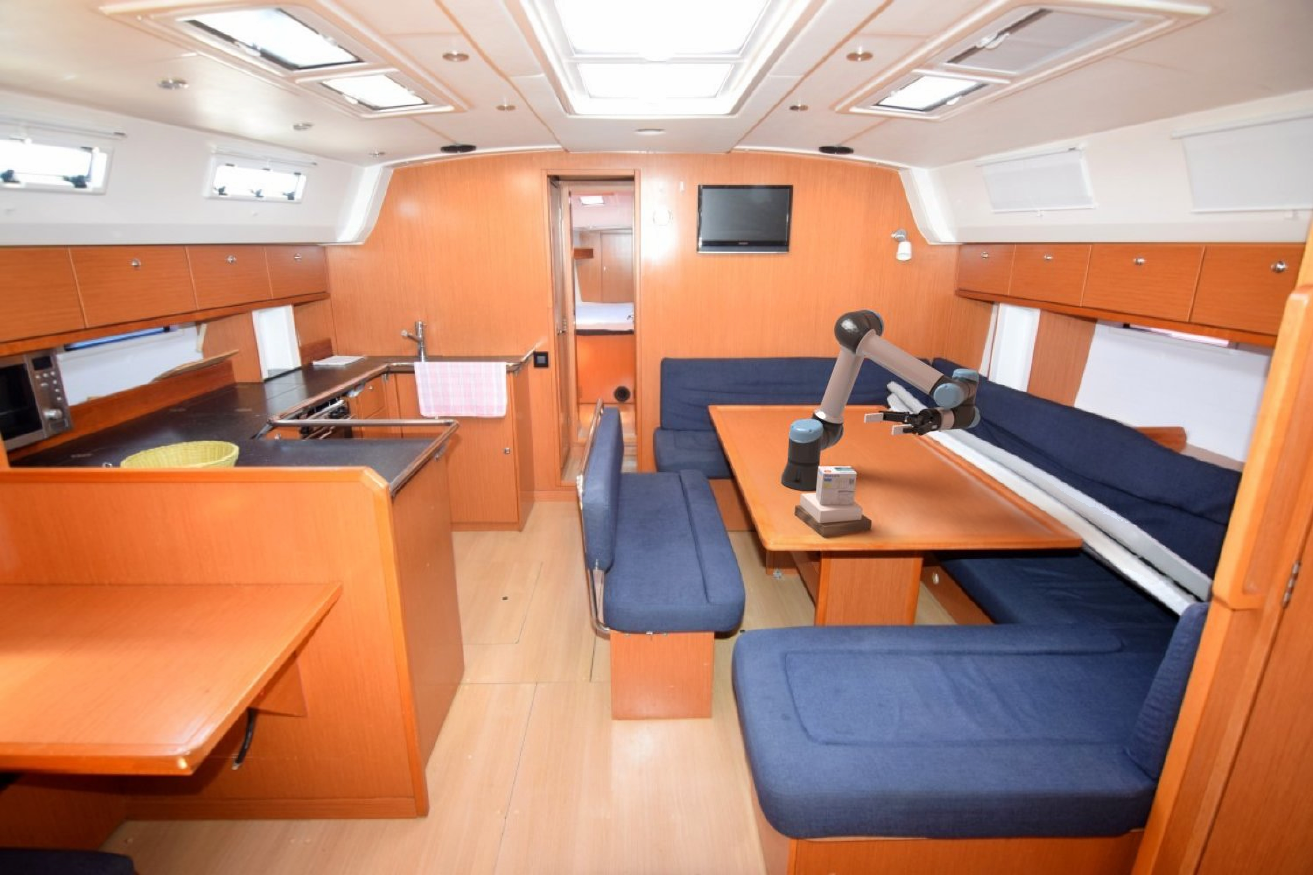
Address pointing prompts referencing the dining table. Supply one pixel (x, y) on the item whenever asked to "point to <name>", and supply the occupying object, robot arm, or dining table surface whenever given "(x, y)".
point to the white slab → (829, 510)
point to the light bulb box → (835, 485)
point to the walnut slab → (833, 524)
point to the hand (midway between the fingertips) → (878, 424)
